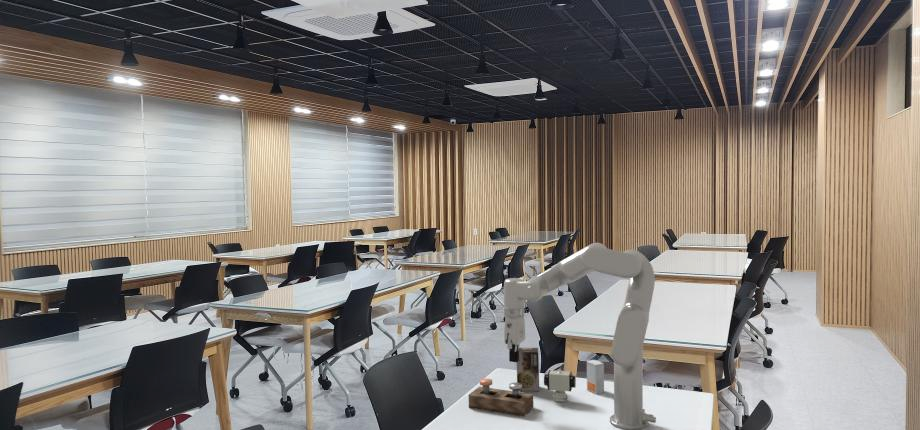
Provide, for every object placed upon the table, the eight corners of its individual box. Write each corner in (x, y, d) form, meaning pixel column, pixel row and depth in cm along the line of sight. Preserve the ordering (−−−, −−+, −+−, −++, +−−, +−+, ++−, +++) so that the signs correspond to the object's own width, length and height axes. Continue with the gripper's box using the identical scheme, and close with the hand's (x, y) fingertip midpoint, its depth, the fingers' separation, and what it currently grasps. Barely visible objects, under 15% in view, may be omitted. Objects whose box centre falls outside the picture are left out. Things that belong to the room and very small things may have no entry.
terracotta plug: (494, 393, 229) (494, 379, 229) (489, 397, 225) (489, 383, 225) (483, 391, 231) (482, 377, 231) (477, 395, 227) (477, 381, 227)
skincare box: (586, 390, 243) (586, 360, 242) (595, 388, 245) (594, 359, 244) (595, 394, 237) (595, 364, 237) (604, 392, 239) (604, 363, 239)
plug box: (533, 407, 225) (533, 394, 225) (524, 416, 216) (523, 403, 216) (479, 399, 235) (479, 386, 235) (468, 407, 226) (468, 394, 226)
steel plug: (524, 397, 224) (524, 383, 224) (519, 401, 220) (519, 387, 219) (512, 395, 226) (512, 381, 226) (507, 399, 222) (507, 385, 222)
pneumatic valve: (575, 404, 228) (574, 372, 227) (544, 401, 231) (543, 370, 231) (576, 399, 233) (576, 368, 233) (546, 396, 236) (545, 366, 236)
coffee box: (539, 386, 249) (538, 347, 248) (539, 391, 243) (538, 351, 242) (516, 385, 250) (516, 347, 249) (516, 391, 244) (516, 351, 243)
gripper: (516, 317, 213) (516, 368, 214) (530, 309, 226) (530, 357, 227) (496, 315, 216) (496, 365, 217) (512, 307, 230) (512, 354, 231)
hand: (514, 361), depth 222 cm, fingers closed
